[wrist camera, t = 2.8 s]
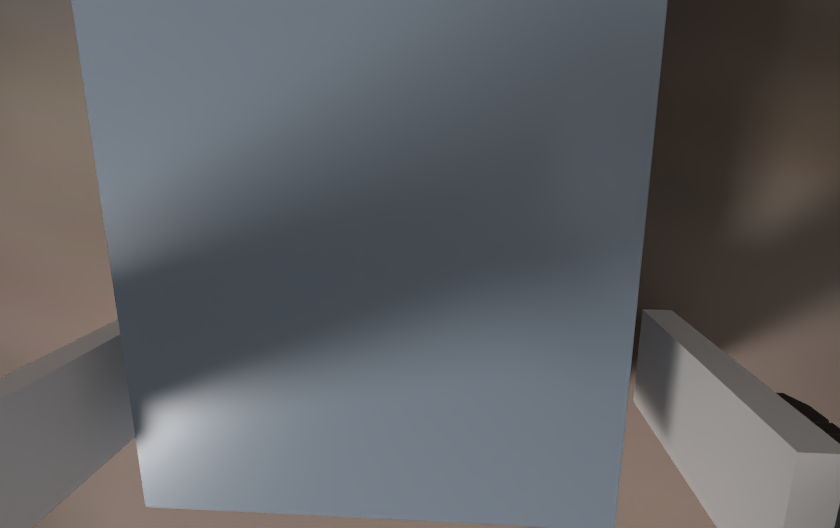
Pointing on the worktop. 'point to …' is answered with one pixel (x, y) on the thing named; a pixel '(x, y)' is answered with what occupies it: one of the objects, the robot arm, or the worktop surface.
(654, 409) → the robot arm
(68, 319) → the worktop surface
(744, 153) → the worktop surface
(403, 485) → the grey slate tile
